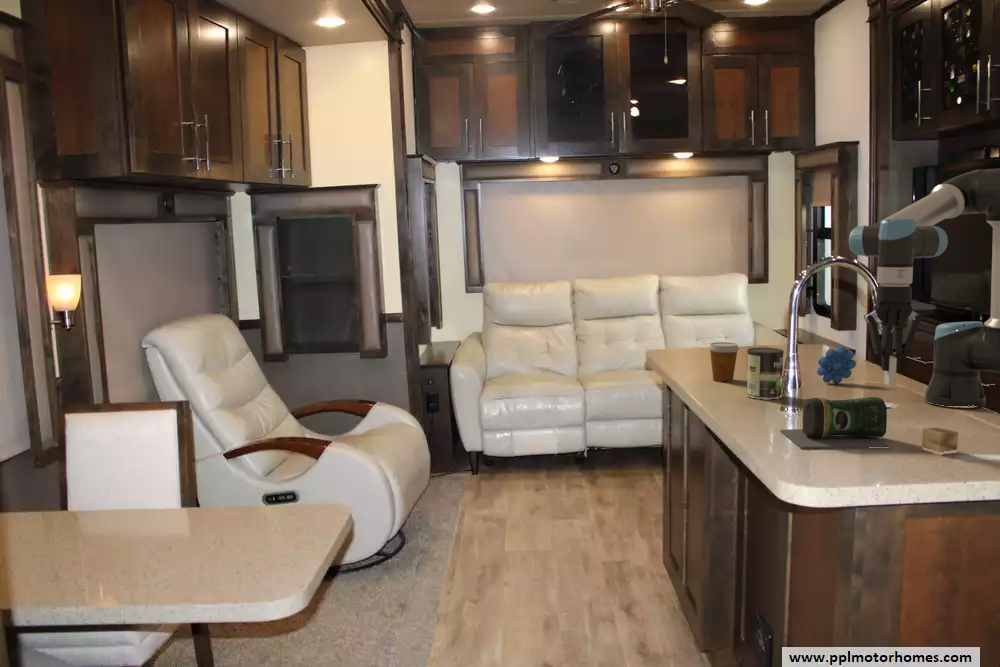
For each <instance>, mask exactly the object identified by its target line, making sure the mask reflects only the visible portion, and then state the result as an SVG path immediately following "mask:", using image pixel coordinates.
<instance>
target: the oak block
mask: <svg viewBox="0 0 1000 667" xmlns="http://www.w3.org/2000/svg"><path fill="white" fill-rule="evenodd" d="M958 442H959V431H956V430H952V429H949V428H945V427H943V426H939V427H938V426H937V427H929V428H927V427H926V428H923V429H922V441H921V448H922V447H924V448H927V449H931V450H934V451H937V452H944V451H950V450H956V449H957V450H958Z"/></svg>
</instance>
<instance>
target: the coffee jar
mask: <svg viewBox="0 0 1000 667" xmlns="http://www.w3.org/2000/svg"><path fill="white" fill-rule="evenodd" d="M887 414H888V409H887V404H886V402H885V401H884V399H883V398H881V397H877V396H872V397H871V396H868V397H859V398H851V399H841V400H840V399H837V400H836V399H835V400H834V399H833V400H832V399H827V398H824V397H818V396H817V397H812V398H806V399H803V400H802V432H803V433H804V434H805V435H807V436H811V437H818V438H825V437H828V436H832V435H848V436H860V437H872V438H877V439H882V438H883V437H884V436H885V435H886V433H887V427H888V426H887V423H888V422H887V421H888V415H887Z"/></svg>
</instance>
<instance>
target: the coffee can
mask: <svg viewBox="0 0 1000 667" xmlns="http://www.w3.org/2000/svg"><path fill="white" fill-rule="evenodd" d="M746 352H747V363H746V364H747V370H746V372H747V373H746V397H747V396H748V397H747V398H749V397H751V398H750V399H752V398H756V399H755V400H759V399H763V401H773V400H772V399H777V400H780V399H779V398H780V395H781V386H780V380H781V375H782V372H783V373H784V349H781V348H775V347H751V348H747V350H746Z"/></svg>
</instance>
